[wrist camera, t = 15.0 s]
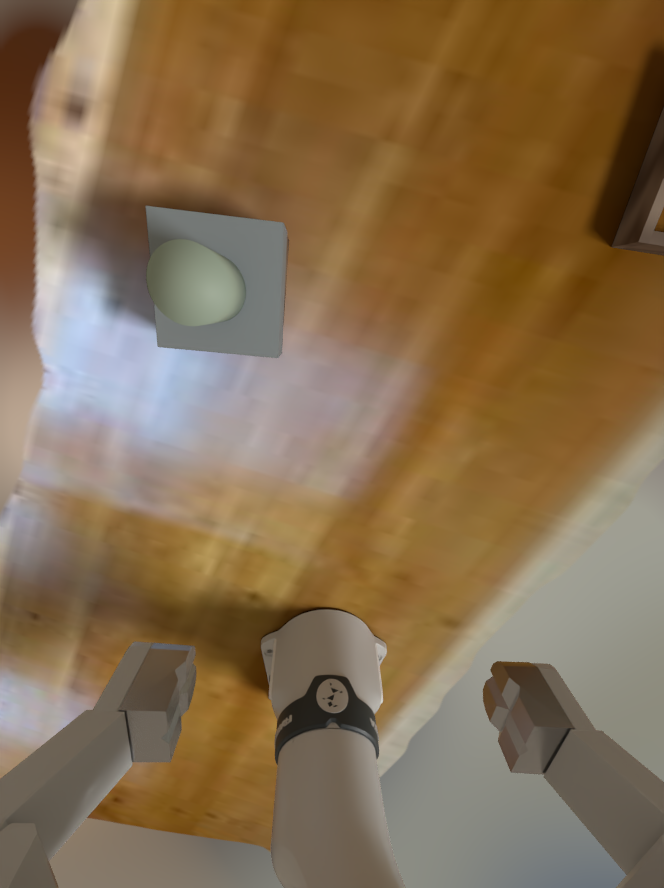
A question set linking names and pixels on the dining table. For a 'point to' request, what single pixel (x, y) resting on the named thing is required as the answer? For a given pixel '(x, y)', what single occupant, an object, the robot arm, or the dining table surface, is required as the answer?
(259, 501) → the dining table surface
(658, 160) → the wooden frame
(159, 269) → the sage green rounded oval
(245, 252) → the grey slab
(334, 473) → the dining table surface
